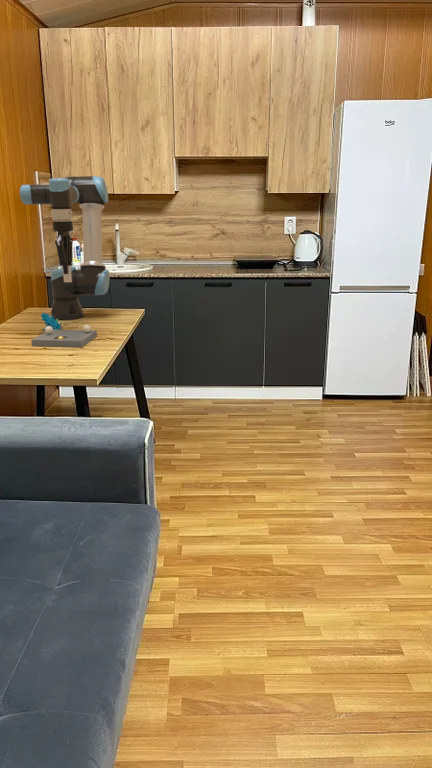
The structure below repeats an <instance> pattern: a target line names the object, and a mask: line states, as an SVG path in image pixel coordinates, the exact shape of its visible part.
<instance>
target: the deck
mask: <svg viewBox="0 0 432 768" xmlns="http://www.w3.org/2000/svg"><path fill="white" fill-rule="evenodd" d="M59 336H63V337H64V338H65V339H57V338H58V337H59ZM96 337H98V331H97V330H95V329H91V331H90V332H88V333H86V332H84V330H83V329H60V330H56V329H53V332H52V333H51V334H47V333H46V332H45V331H44V332H43V333H41V334H39V335H38V336H36V337H34V338H32V339H30V340H31V341H30V342H31V347H50V348H51V347H53V348H54V347H55V348H83V347H84V346H87V344H88V343H90V342H92V341H93V340H94V339H96Z"/></svg>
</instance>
